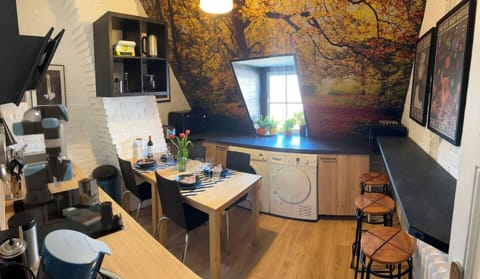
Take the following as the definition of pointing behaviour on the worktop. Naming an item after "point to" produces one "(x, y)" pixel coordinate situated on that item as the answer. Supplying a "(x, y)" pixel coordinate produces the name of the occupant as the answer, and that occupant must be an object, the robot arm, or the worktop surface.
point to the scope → (109, 216)
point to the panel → (86, 217)
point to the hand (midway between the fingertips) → (57, 187)
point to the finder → (70, 211)
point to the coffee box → (88, 191)
